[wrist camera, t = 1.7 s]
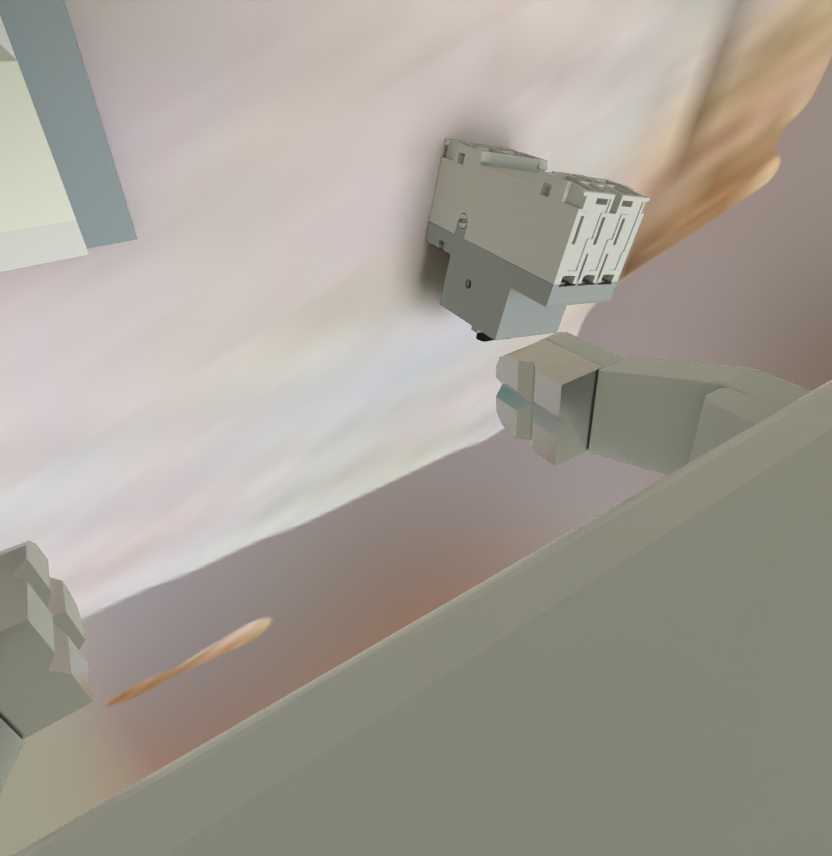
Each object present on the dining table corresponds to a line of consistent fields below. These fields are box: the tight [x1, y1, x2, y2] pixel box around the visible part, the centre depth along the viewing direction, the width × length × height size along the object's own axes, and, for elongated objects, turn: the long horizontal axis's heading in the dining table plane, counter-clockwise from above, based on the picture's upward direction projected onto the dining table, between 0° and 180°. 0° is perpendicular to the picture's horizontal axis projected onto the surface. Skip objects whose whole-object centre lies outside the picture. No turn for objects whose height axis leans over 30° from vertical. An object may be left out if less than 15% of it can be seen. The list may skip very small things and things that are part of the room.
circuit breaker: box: [425, 139, 650, 341], centre depth 46 cm, size 8×14×15 cm, turn 166°
